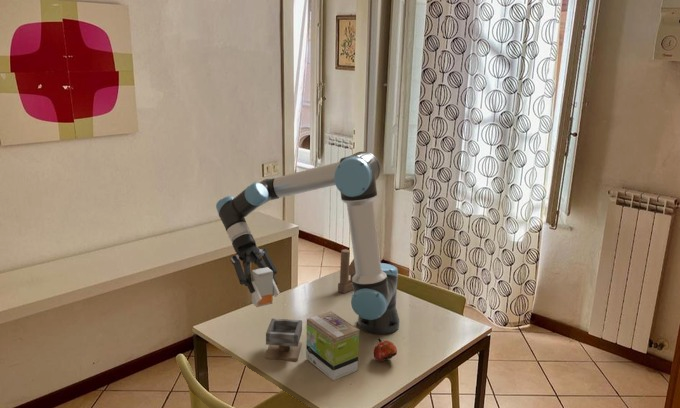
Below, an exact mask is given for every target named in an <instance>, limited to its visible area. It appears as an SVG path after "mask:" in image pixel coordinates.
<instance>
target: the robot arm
mask: <svg viewBox="0 0 680 408" xmlns="http://www.w3.org/2000/svg"><path fill="white" fill-rule="evenodd" d="M380 174H381V163H380V161H379V159H378V158H377V157H376V156H375V154H373V153H371V152H370V151H357V152H355V153H354V154H351V155H349V156H345V157H341V158H340V159H339V161H337V162H334V163H333V162H332V163H330V164H326V165H322V166H317V167H313V168H310V169H309V168H308V169H306V170H301V171H297V172H294V173H290V174H287V175H286V174H285V175H281V176H277V177H274V178H273V177H272V178H266V179H263V180H261V181H260V182H258V181H255V182H253V183H252V184H250V185H248V186H247V187H245V189H243V190H242V191H241V192H240V193H239V194H237V196H232V195H230V196H229V195H227V196H225V197H223V198H220V199H219V200H218V201H217V202H216V205H215V208H216V210H217V214H218V217H219V219H220V220H221V222H222V224H223V226H224V229H225V232H226V234H227V235H228V238H229V241H230V242H231V245H232V248H233V249H234V252H235V253H236V255H233V256H232V257H231V258H230V259H229V261H230V262H231V263H232V265H233V267H234V269H235V272H236V273H235V274H236V276H237V279H238V281H239V284H240V285H242V286H243V285H244V286H245V287H247V289H248V291H249V293H250V294H252V293H253V295H254V297H255V300H256V302H259V301H260V300H261V299H262V297H261V295H260V293H259V291H258V289H257V286H256V284H255V282H254V281H253V282H252V270H251V264H252V263H253V264H255V265H257V267H258V269H260V268H266V267H268V268H269V269H271V270H272V271H273V298H276V297H278V296H279V295H280V291H279V288H278V286H277V285H278V282H277V280H276V277H275V276H276V274H277V273H278V270H277V268H276V265H275V264H274V262H273V261H272V259H271V257H270V255H269V253H268V249H267V248H266V247H264V248H263V249H260V248H259V247H258V246H257V243H256V240H255V238H254V236H253V234H252V231H251V230H250V227H249V224H248V223H247V220H246V218H245V217H247V216H249V214H251V213H253V212H254V211H255V210H256V209H258V208H259V207H261V206H263V205H264V204H267V203H268V202H270V201H273V200H274V201H275V200H278V199H281V198H287V197H291V196H294V195H298V194H302V193H307V192H311V191H316V190H321V189H324V188H329V187H333V186H336V188H337V190H338V191H339V192H340V197H341V199H340V200H341V201H342V202H343V203H345V204H346V208H347V217H348V223H349V230H350V239H351V246H352V248H351V249H352V253H353V259H354V263H355V270H356V274H355V275H354V276H353V277H352V282H353V290H352V291H353V294H352V295H351V299H350V304H351V305H350V306H351V309H352V310H353V312H354V313H355V314H356V315H357V316H358V317H357V325H358V327H359V328H360V329H361V330H362V331H364V332H367V333H370V334H374V335H375V334H376V335H386V334H387V335H389V334H392V333H394V332H396V331H397V330H398V329H400V323H401V322H400V317H399V313H398V310H397V305H396V304H397V291H398V290H397V289H398V277H399V269H398V267H396V266H395V265H392V264H390V263H384V262H382V261H381V257H380V255H381V254H380V247H379V239H378V238H379V237H378V231H377V221H376V214H375V213H376V212H375V207H374V206H375V205H374V204H375V203H374V200H375V199H376V198H377V196H378V191H377V180H378V179H379V177H380ZM240 261H242V264H241V262H240Z"/></svg>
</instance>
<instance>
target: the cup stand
mask: <svg viewBox="0 0 680 408" xmlns="http://www.w3.org/2000/svg"><path fill="white" fill-rule="evenodd" d="M302 333H303V320H301V319H288V318H287V319H284V318H271V319H270V322H269V325H268V327H267V329H266V332H265V345H266V346H267V345H269V347H268V349H267V353H266V354H265V359H267V360H268V359H269V360H280V361H281V360H282V361H295V362H297V361H298V360H299V356H300V353H301V349H302V344H303V342H300V341H301V337H302Z"/></svg>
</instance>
